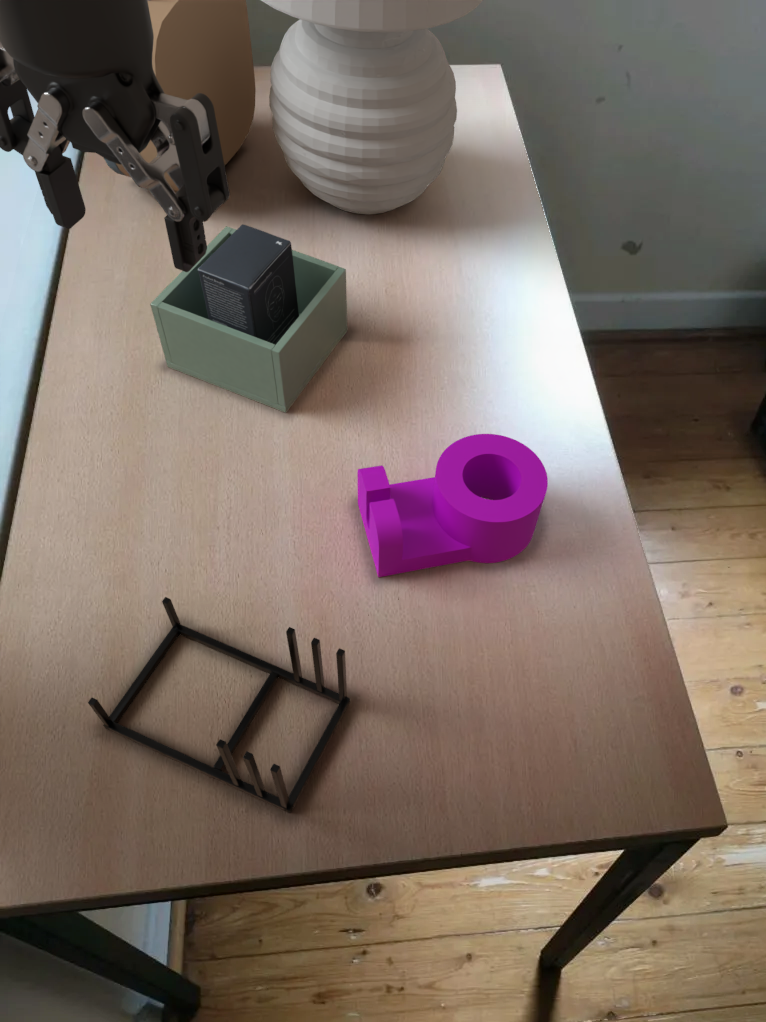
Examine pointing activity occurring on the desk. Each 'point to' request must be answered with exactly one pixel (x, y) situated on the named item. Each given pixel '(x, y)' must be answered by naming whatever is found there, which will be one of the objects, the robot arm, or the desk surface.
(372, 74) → the table lamp
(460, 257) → the desk surface
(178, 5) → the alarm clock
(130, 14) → the robot arm
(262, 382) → the green storage bin
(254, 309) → the box
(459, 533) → the magenta mechanical bracket
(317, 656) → the rack
